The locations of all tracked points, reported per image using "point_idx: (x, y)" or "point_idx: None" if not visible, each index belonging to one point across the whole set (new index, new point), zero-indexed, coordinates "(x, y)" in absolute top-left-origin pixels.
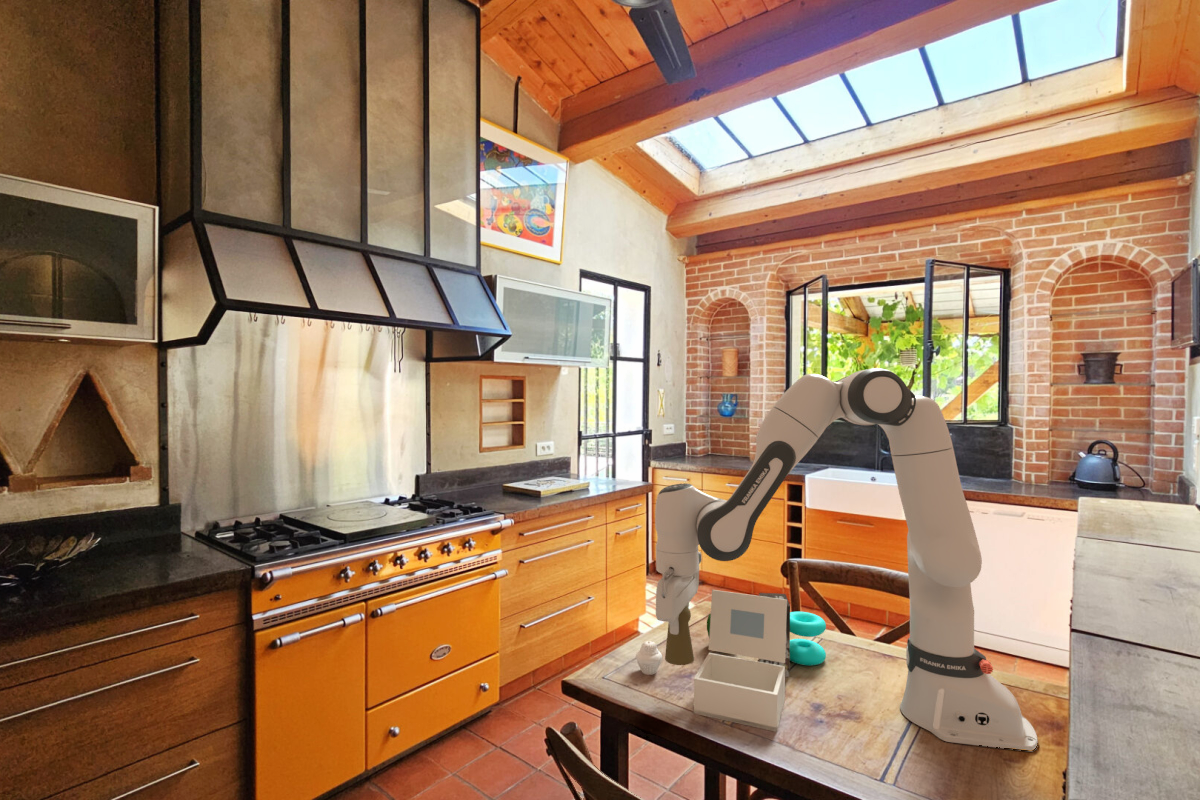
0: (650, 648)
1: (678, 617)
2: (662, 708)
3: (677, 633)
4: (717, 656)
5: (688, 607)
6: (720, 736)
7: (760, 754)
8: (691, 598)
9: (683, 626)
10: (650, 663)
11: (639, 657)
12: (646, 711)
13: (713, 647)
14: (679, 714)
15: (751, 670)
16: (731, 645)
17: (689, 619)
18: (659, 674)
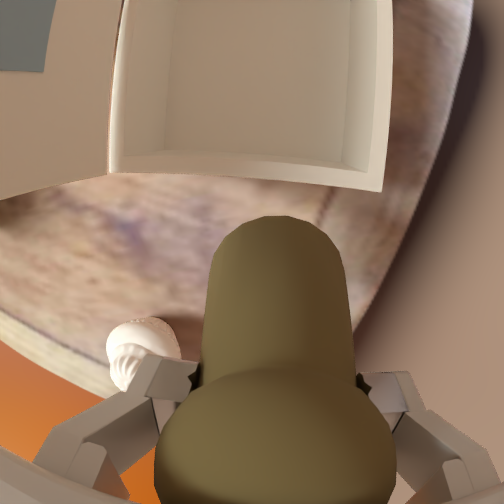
0: None
1: (455, 462)
2: (343, 263)
3: (407, 375)
4: (125, 130)
5: (74, 418)
6: (431, 98)
7: (459, 19)
8: (22, 474)
9: (345, 376)
10: (176, 348)
11: None
12: (367, 297)
13: (97, 154)
14: (362, 213)
15: (151, 7)
16: (86, 68)
17: (305, 379)
18: (157, 306)
